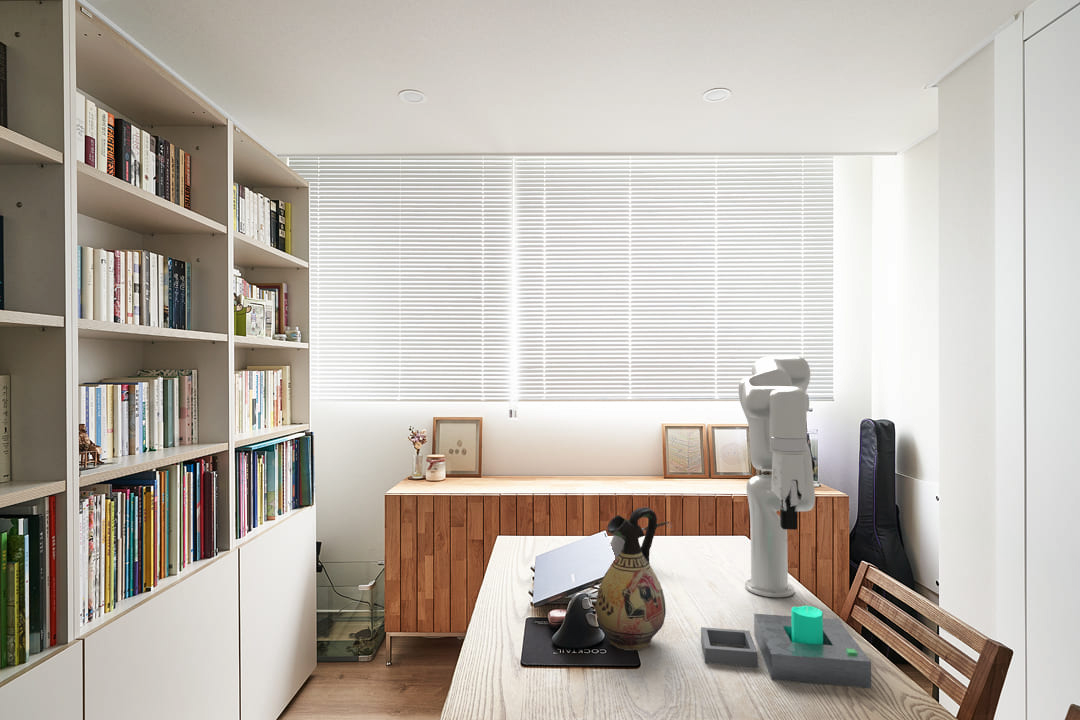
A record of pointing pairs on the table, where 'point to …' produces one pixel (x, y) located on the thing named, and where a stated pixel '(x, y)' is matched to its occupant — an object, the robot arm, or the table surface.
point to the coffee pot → (619, 542)
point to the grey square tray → (726, 653)
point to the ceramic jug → (631, 587)
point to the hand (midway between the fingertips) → (788, 528)
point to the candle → (807, 625)
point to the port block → (811, 654)
